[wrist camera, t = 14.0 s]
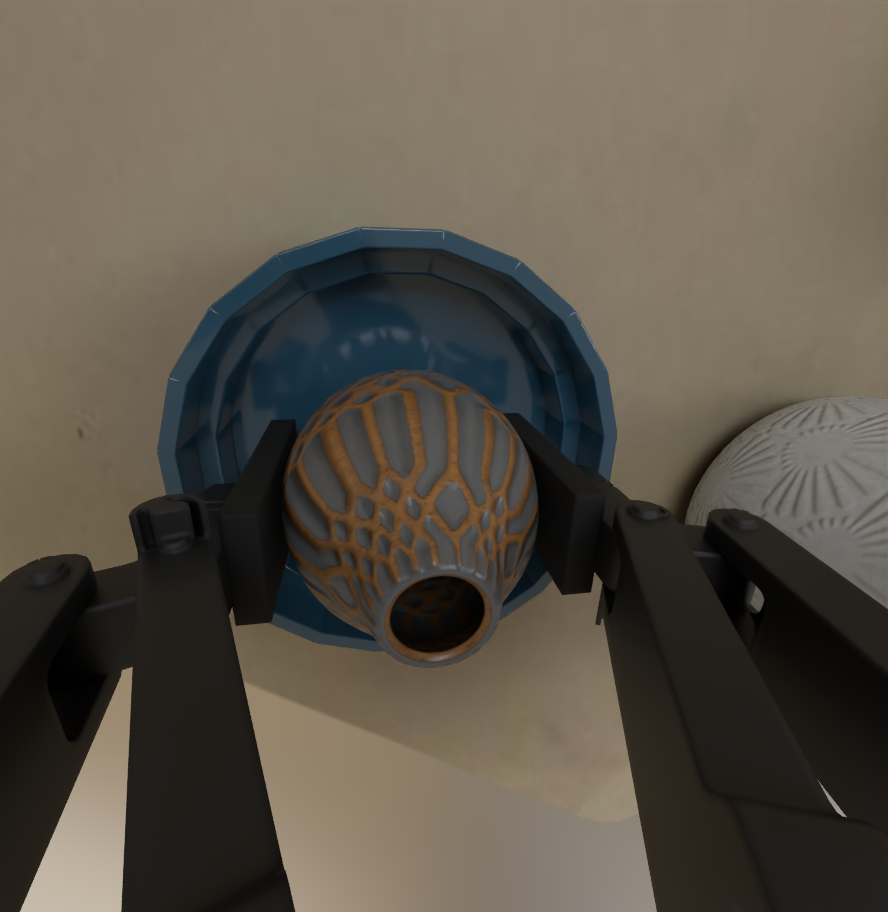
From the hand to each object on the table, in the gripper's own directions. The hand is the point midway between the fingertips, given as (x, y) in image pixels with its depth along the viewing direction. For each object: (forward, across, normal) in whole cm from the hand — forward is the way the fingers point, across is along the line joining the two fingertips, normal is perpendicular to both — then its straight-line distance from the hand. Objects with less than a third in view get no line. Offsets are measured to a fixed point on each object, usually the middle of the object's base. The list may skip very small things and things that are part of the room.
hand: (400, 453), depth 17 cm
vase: (0, 0, 0) cm, 0 cm away
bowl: (+2, 0, 0) cm, 2 cm away
